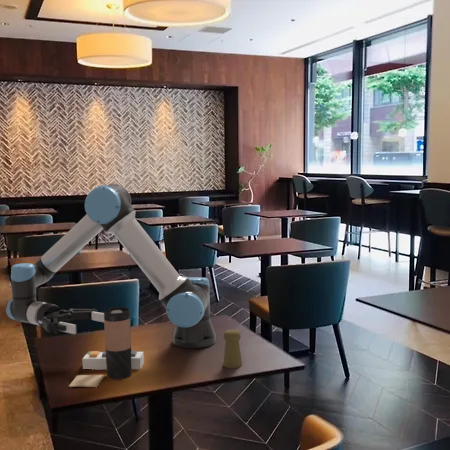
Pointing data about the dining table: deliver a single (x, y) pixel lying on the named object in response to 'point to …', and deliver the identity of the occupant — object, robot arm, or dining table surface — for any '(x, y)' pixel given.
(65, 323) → the robot arm
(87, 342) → the dining table surface
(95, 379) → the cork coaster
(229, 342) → the pepper shaker
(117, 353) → the travel mug
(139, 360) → the socket strip
